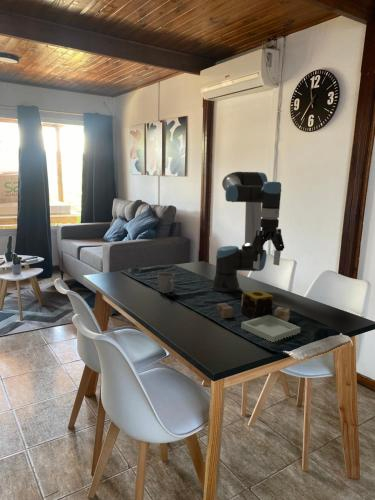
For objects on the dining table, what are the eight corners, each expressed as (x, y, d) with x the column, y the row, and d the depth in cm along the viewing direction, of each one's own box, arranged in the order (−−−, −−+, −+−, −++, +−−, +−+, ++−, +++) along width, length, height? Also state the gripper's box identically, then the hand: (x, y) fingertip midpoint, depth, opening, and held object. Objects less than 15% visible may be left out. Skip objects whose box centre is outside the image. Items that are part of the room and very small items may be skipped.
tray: (241, 328, 150) (241, 322, 150) (268, 319, 160) (268, 314, 160) (272, 342, 138) (273, 336, 137) (300, 333, 147) (300, 327, 147)
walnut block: (216, 313, 167) (217, 303, 166) (225, 312, 169) (225, 302, 168) (223, 318, 161) (223, 308, 160) (232, 317, 162) (232, 308, 161)
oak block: (273, 320, 160) (274, 309, 159) (277, 317, 164) (278, 306, 163) (285, 323, 157) (286, 312, 156) (289, 319, 161) (289, 309, 160)
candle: (254, 321, 159) (255, 298, 157) (240, 313, 167) (241, 292, 165) (272, 317, 163) (274, 296, 161) (258, 310, 172) (259, 289, 170)
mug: (154, 290, 196) (154, 273, 194) (168, 288, 201) (169, 271, 199) (165, 297, 186) (165, 278, 184) (180, 294, 191) (180, 276, 189)
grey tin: (239, 306, 176) (239, 294, 175) (246, 304, 179) (247, 292, 178) (246, 309, 172) (247, 297, 171) (254, 307, 175) (254, 295, 174)
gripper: (257, 220, 147) (253, 272, 151) (294, 218, 163) (290, 264, 167) (243, 218, 153) (240, 268, 157) (281, 216, 168) (277, 261, 172)
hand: (266, 266), depth 162 cm, fingers open, 13 cm apart
